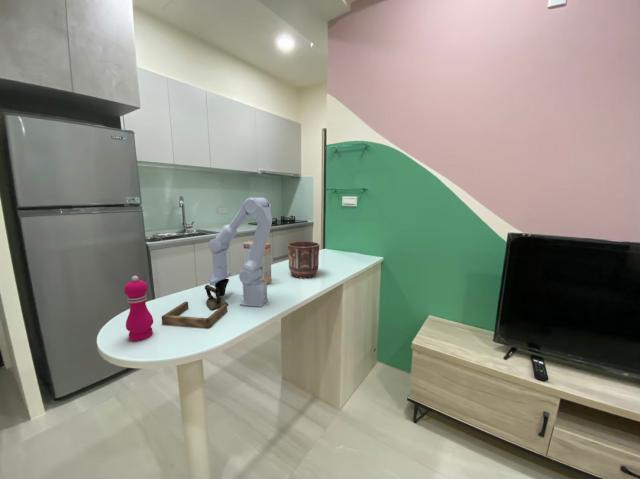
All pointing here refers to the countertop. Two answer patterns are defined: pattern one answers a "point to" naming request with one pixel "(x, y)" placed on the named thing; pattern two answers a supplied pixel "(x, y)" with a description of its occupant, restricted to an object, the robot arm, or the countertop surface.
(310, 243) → the pottery
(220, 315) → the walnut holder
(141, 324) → the pepper mill
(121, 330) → the countertop surface
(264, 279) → the cracker box
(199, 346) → the countertop surface
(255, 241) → the robot arm
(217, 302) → the clothes iron
